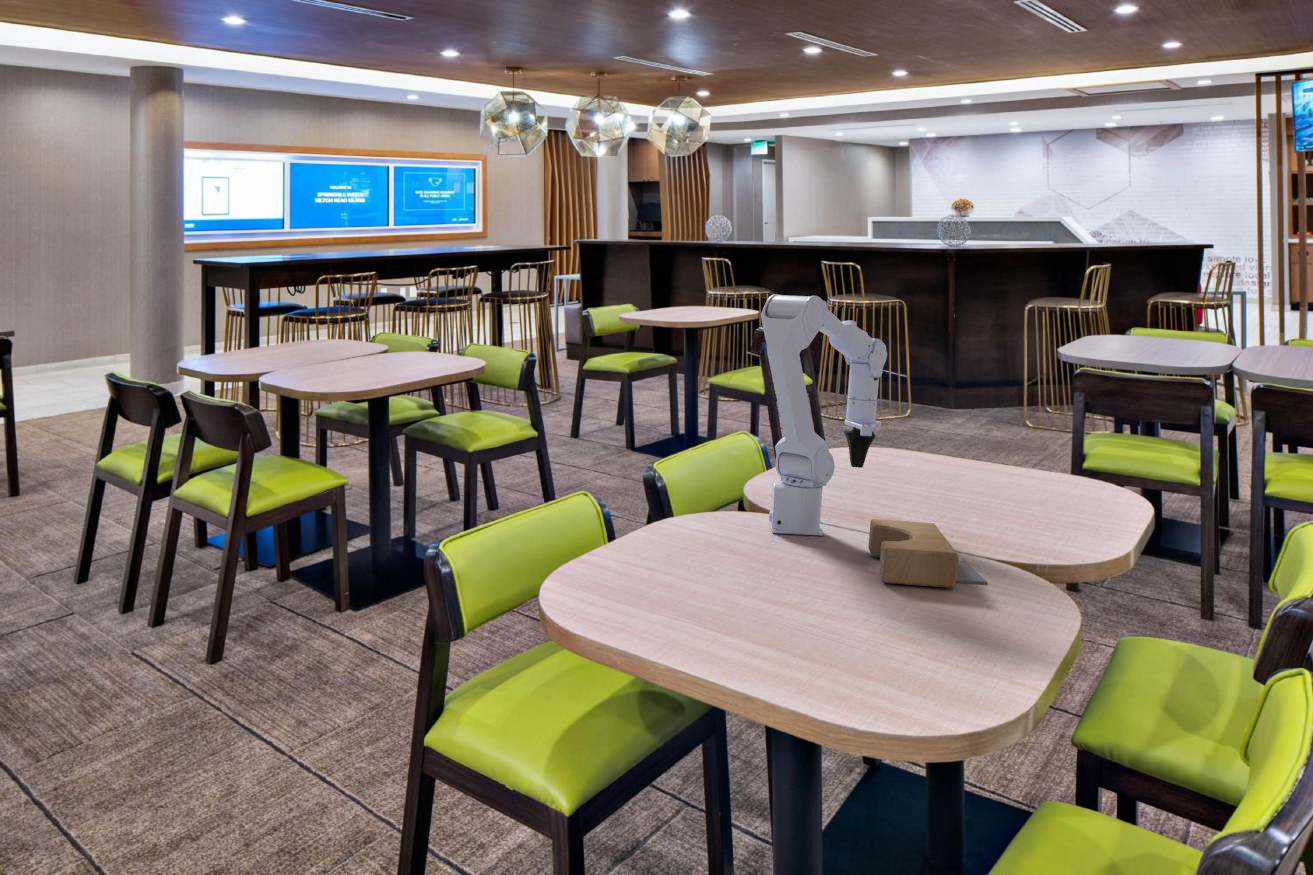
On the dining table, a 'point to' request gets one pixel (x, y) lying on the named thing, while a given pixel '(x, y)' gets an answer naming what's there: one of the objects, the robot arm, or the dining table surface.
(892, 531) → the decorative block
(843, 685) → the dining table surface
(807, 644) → the dining table surface
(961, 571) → the grey flat plate
